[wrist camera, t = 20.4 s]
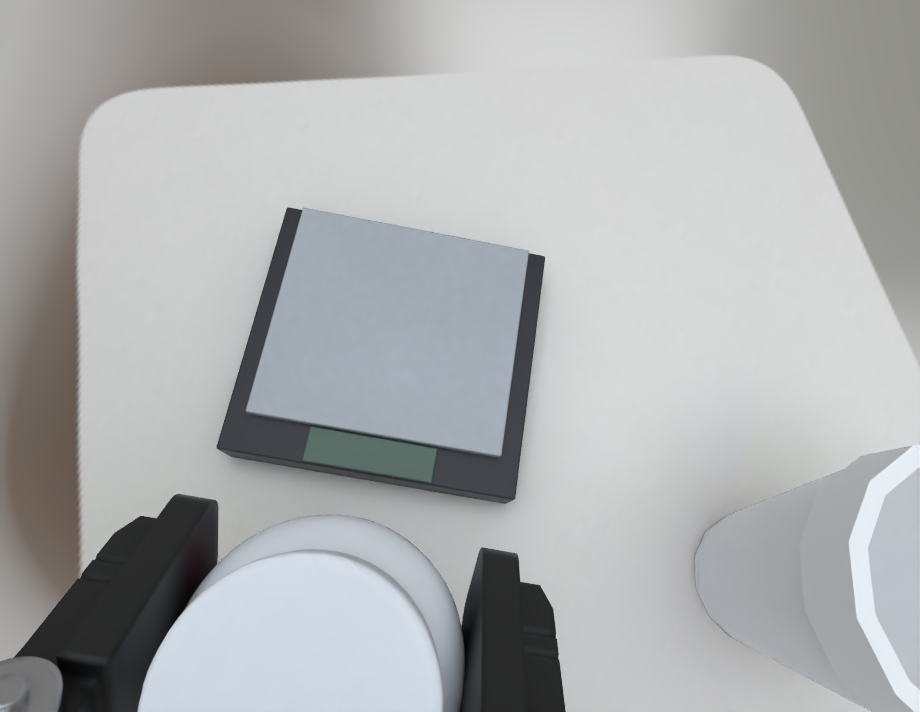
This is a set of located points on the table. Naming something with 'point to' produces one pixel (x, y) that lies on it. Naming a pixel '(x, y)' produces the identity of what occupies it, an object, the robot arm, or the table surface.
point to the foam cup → (828, 579)
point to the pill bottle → (314, 628)
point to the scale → (389, 357)
